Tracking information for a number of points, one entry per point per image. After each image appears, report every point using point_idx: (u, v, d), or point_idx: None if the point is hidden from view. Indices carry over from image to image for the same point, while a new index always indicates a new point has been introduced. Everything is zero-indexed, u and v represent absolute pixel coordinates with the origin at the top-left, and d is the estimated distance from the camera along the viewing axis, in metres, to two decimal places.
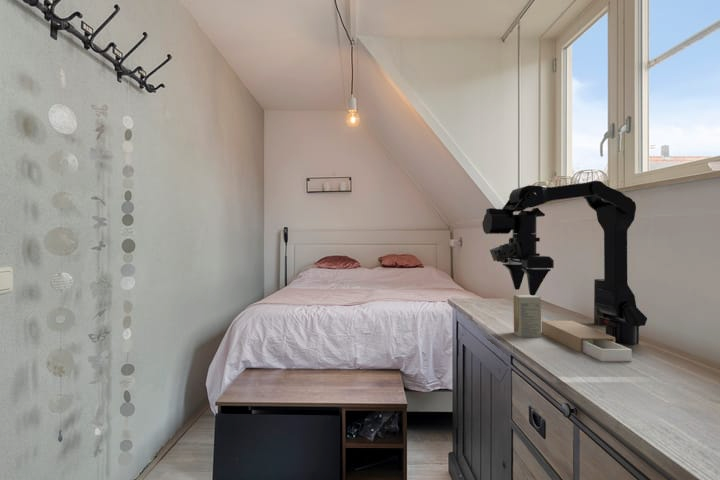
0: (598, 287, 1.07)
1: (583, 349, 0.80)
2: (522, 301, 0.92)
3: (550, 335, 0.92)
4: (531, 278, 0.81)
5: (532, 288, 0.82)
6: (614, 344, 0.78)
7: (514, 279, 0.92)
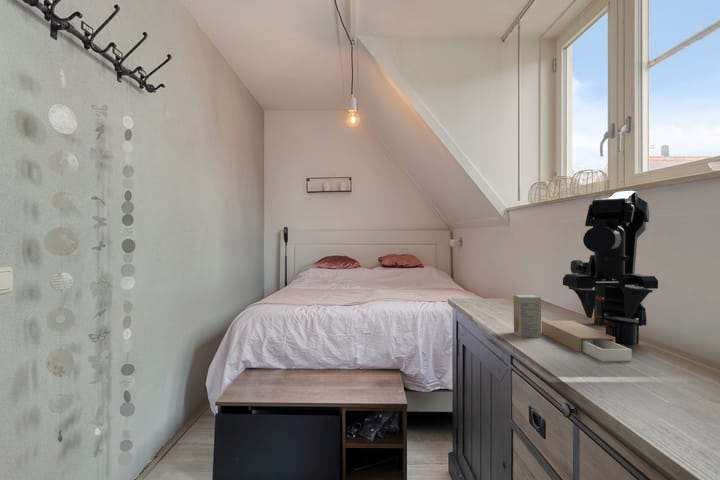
0: (598, 287, 1.07)
1: (583, 349, 0.80)
2: (522, 301, 0.92)
3: (550, 335, 0.92)
4: (580, 298, 0.77)
5: (585, 309, 0.77)
6: (614, 344, 0.78)
7: (625, 305, 0.77)
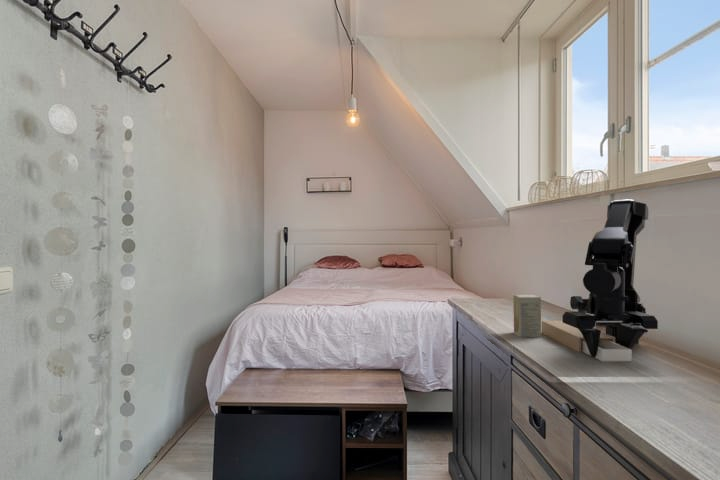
0: None
1: (583, 349, 0.80)
2: (522, 301, 0.92)
3: (550, 335, 0.92)
4: (584, 336, 0.77)
5: (589, 348, 0.77)
6: (614, 344, 0.78)
7: (620, 343, 0.77)
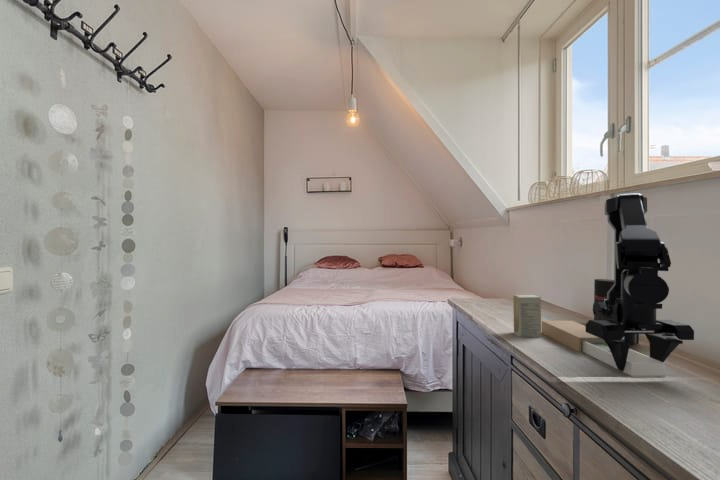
0: (598, 287, 1.07)
1: (608, 361, 0.72)
2: (522, 301, 0.92)
3: (550, 335, 0.92)
4: (610, 348, 0.69)
5: (616, 360, 0.69)
6: (643, 356, 0.71)
7: (651, 355, 0.69)
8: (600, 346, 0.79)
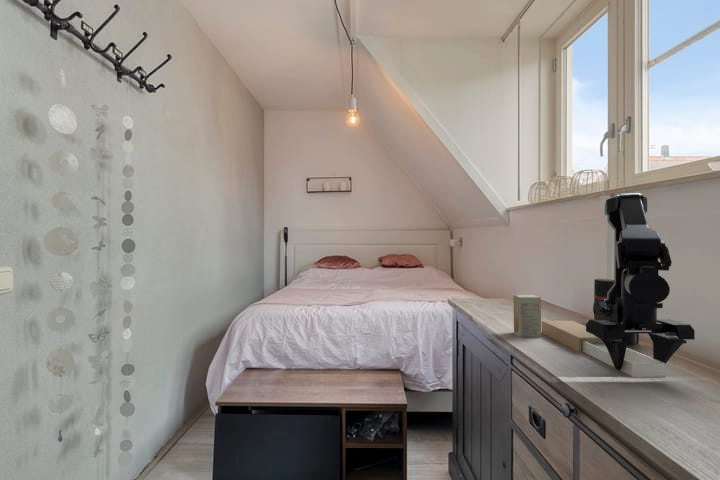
0: (598, 287, 1.07)
1: (609, 361, 0.72)
2: (522, 301, 0.92)
3: (550, 335, 0.92)
4: (608, 347, 0.69)
5: (613, 360, 0.69)
6: (644, 356, 0.70)
7: (654, 355, 0.69)
8: (600, 346, 0.78)
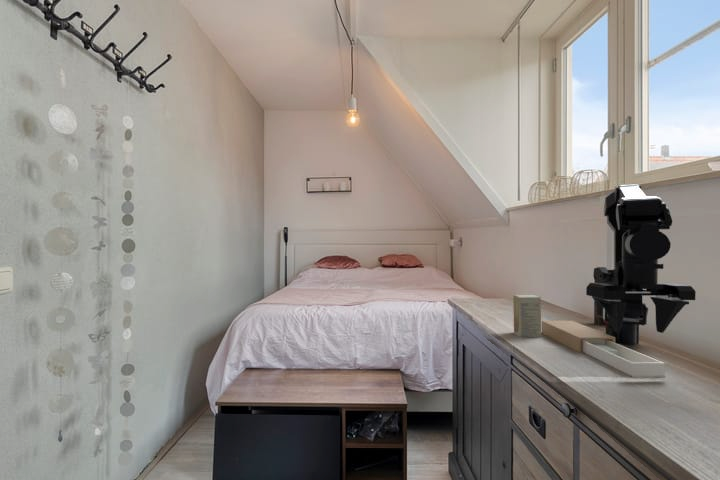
0: None
1: (609, 361, 0.72)
2: (522, 301, 0.92)
3: (550, 335, 0.92)
4: (606, 310, 0.69)
5: (612, 323, 0.68)
6: (644, 356, 0.70)
7: (657, 318, 0.69)
8: (600, 346, 0.78)
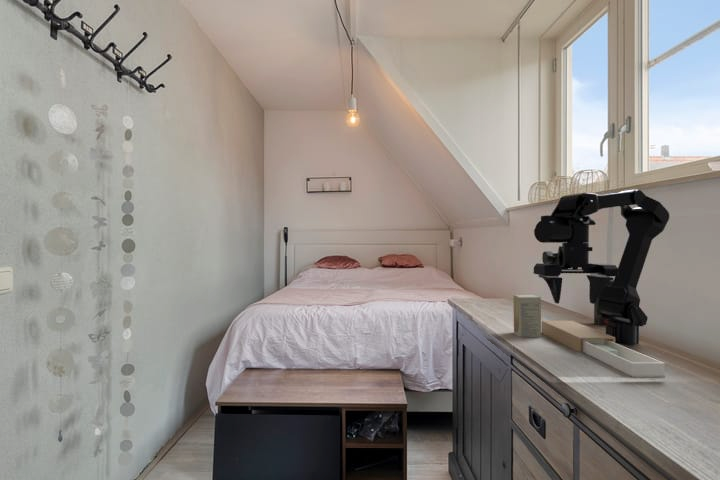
0: None
1: (609, 361, 0.72)
2: (522, 301, 0.92)
3: (550, 335, 0.92)
4: (549, 285, 0.85)
5: (553, 295, 0.84)
6: (644, 356, 0.70)
7: (590, 292, 0.85)
8: (600, 346, 0.78)
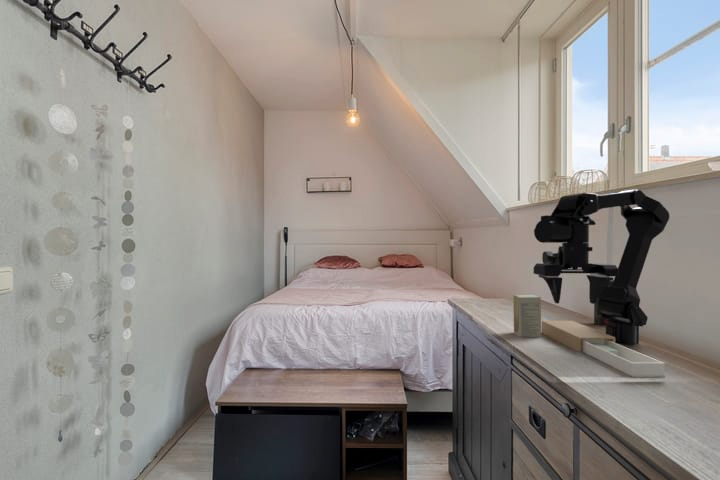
0: None
1: (609, 361, 0.72)
2: (522, 301, 0.92)
3: (550, 335, 0.92)
4: (549, 285, 0.85)
5: (553, 295, 0.84)
6: (644, 356, 0.70)
7: (590, 292, 0.85)
8: (600, 346, 0.78)
